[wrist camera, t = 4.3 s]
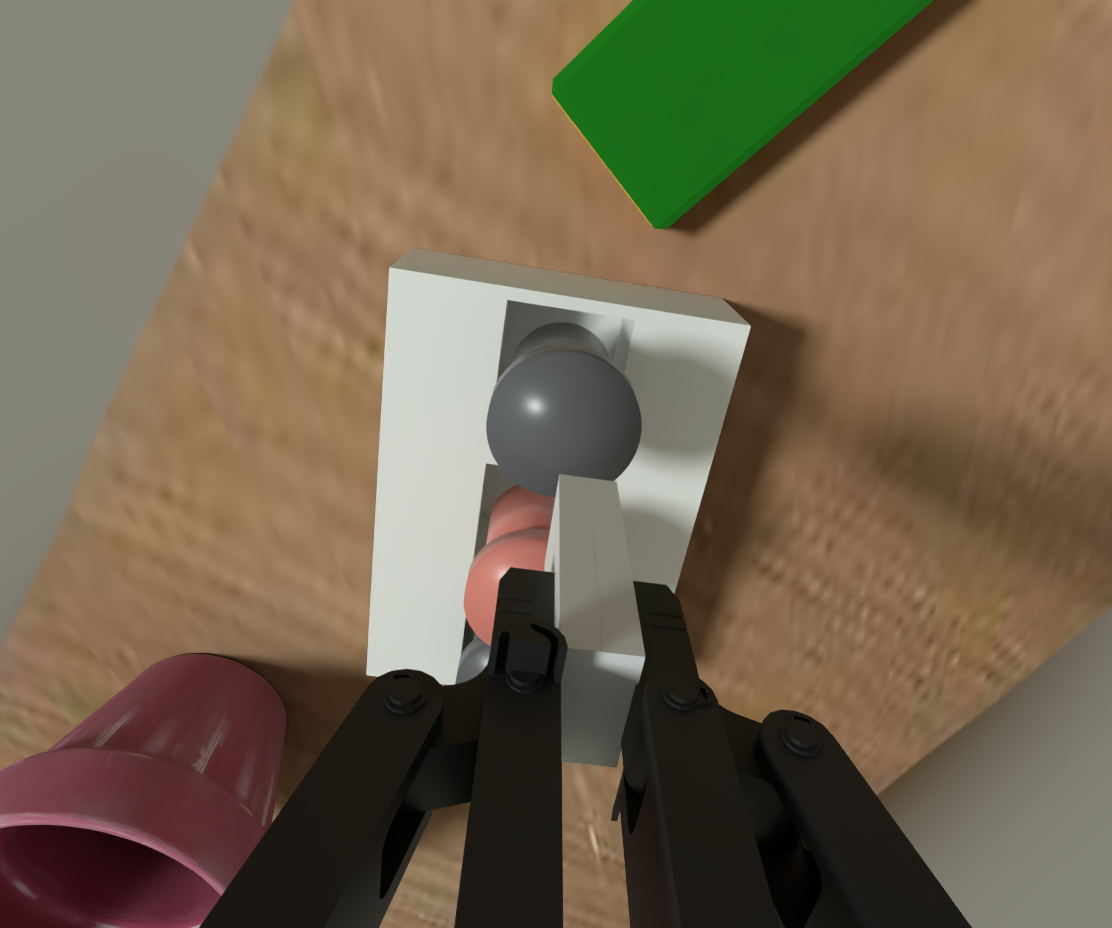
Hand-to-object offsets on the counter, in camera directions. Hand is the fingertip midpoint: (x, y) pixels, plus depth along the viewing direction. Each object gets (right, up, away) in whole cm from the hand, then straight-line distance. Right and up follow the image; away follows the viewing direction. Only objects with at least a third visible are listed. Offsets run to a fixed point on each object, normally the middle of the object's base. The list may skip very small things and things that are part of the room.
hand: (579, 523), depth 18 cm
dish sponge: (+7, +19, +9) cm, 22 cm away
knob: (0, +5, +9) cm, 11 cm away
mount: (-2, +1, +17) cm, 17 cm away
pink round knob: (-2, -1, +12) cm, 13 cm away
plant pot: (-21, -13, +24) cm, 35 cm away
